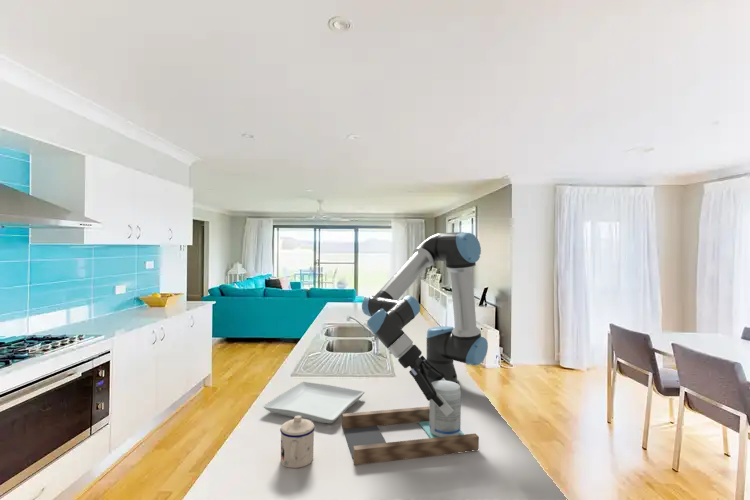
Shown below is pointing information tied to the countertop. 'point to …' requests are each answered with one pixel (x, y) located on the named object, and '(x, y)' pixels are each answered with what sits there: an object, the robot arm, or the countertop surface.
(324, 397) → the square plate
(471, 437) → the channel rails
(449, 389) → the supplement tub
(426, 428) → the pad
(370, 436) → the trap mat
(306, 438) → the teacup with lid
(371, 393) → the countertop surface
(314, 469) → the countertop surface
